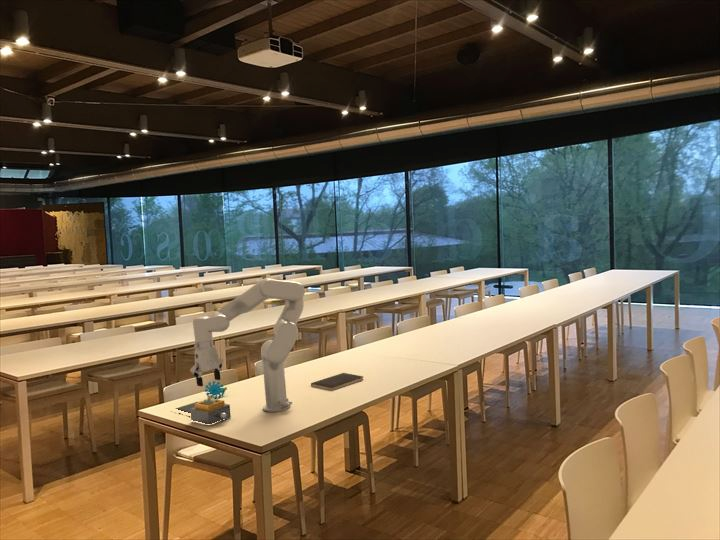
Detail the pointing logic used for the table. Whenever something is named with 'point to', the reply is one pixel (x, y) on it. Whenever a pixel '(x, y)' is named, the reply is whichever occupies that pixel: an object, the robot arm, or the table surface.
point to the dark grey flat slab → (187, 407)
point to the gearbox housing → (210, 412)
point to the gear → (215, 389)
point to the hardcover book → (337, 381)
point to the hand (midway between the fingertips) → (209, 382)
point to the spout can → (209, 400)
